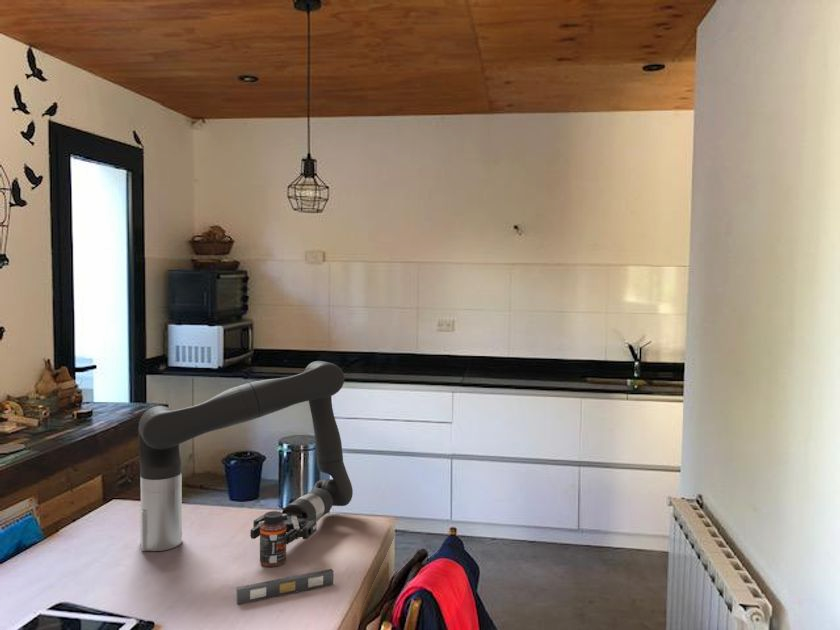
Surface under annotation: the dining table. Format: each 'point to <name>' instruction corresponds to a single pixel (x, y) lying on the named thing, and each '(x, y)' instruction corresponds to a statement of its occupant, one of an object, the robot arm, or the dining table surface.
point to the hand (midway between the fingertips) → (268, 537)
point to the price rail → (284, 586)
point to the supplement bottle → (272, 540)
